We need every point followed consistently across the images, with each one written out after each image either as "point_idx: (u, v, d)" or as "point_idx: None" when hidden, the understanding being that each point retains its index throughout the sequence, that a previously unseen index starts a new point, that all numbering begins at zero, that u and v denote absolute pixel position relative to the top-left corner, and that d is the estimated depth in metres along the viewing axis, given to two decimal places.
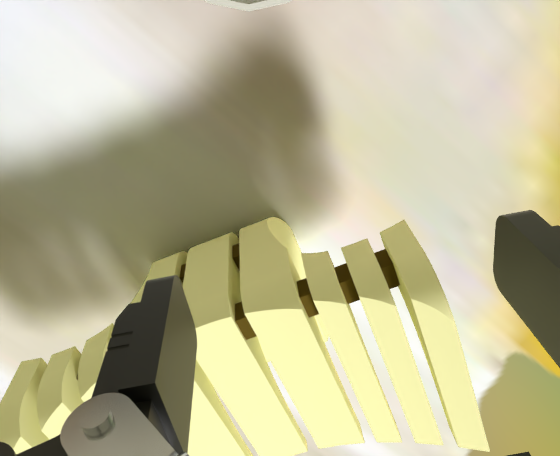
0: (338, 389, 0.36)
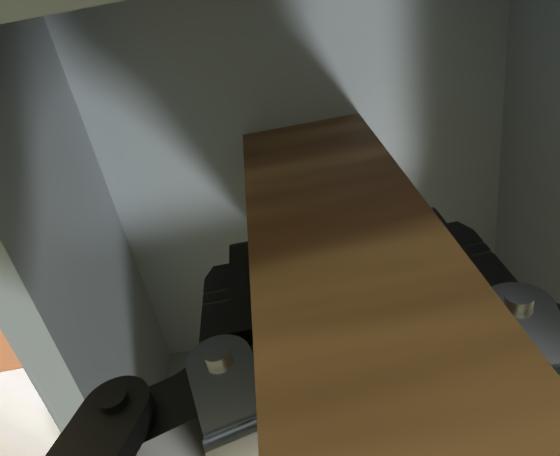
0: None
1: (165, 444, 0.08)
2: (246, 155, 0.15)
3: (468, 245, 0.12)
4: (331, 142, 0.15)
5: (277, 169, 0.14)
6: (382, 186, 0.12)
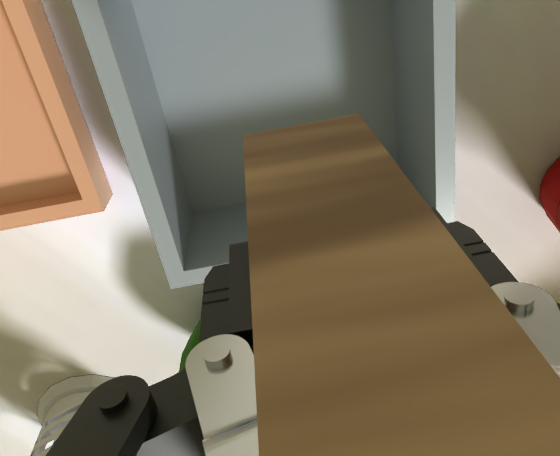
0: None
1: (165, 444, 0.08)
2: (246, 155, 0.15)
3: (468, 245, 0.12)
4: (331, 143, 0.15)
5: (278, 169, 0.14)
6: (382, 187, 0.12)
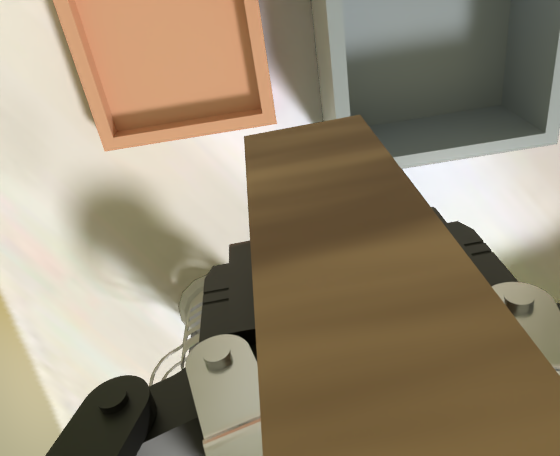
0: None
1: (165, 444, 0.08)
2: (248, 157, 0.15)
3: (468, 245, 0.12)
4: (332, 144, 0.15)
5: (279, 171, 0.14)
6: (384, 188, 0.12)
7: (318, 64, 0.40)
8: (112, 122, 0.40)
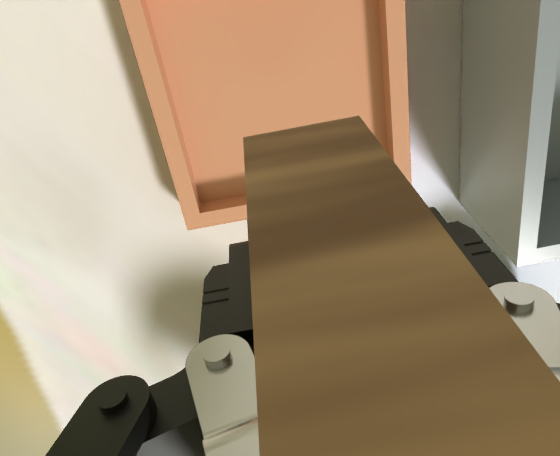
0: None
1: (165, 444, 0.08)
2: (247, 158, 0.15)
3: (468, 245, 0.12)
4: (331, 145, 0.15)
5: (278, 172, 0.14)
6: (382, 190, 0.12)
7: (465, 111, 0.30)
8: (197, 192, 0.31)
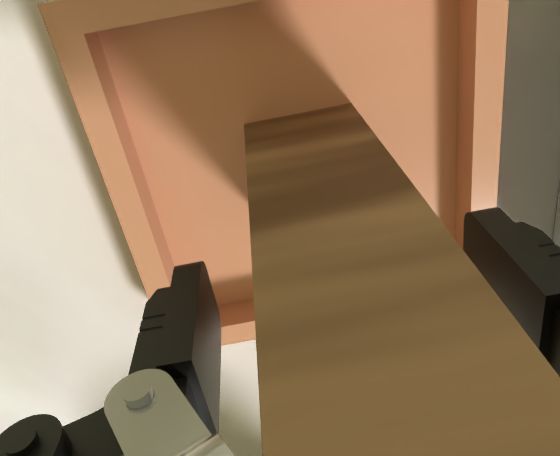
0: None
1: None
2: (247, 141, 0.16)
3: (539, 247, 0.11)
4: (325, 129, 0.16)
5: (276, 153, 0.15)
6: (370, 165, 0.13)
7: None
8: None
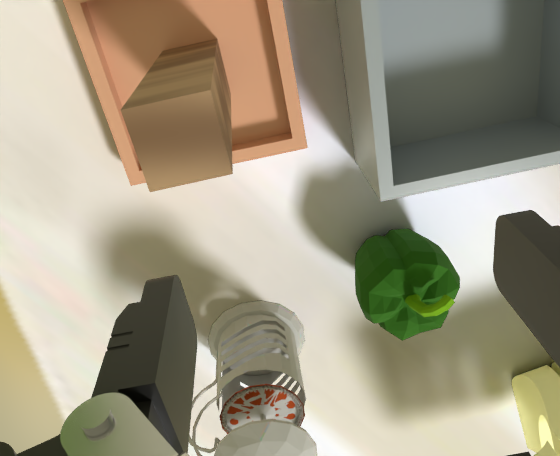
0: None
1: None
2: (160, 55, 0.34)
3: None
4: (197, 47, 0.34)
5: (170, 56, 0.33)
6: (204, 53, 0.31)
7: (347, 85, 0.38)
8: None
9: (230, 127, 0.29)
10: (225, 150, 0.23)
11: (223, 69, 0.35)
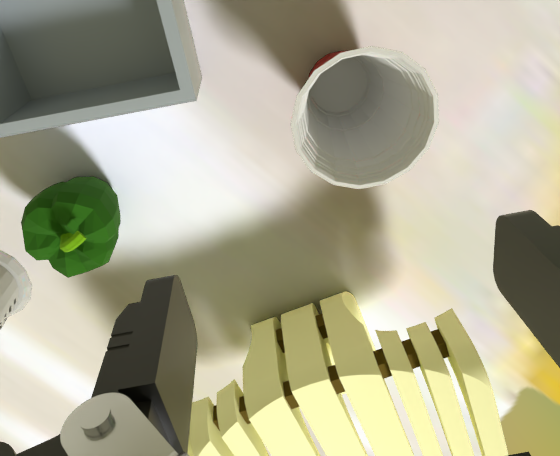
0: (401, 428, 0.50)
1: None
2: None
3: None
4: None
5: None
6: None
7: None
8: None
9: None
10: None
11: None
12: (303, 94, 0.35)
